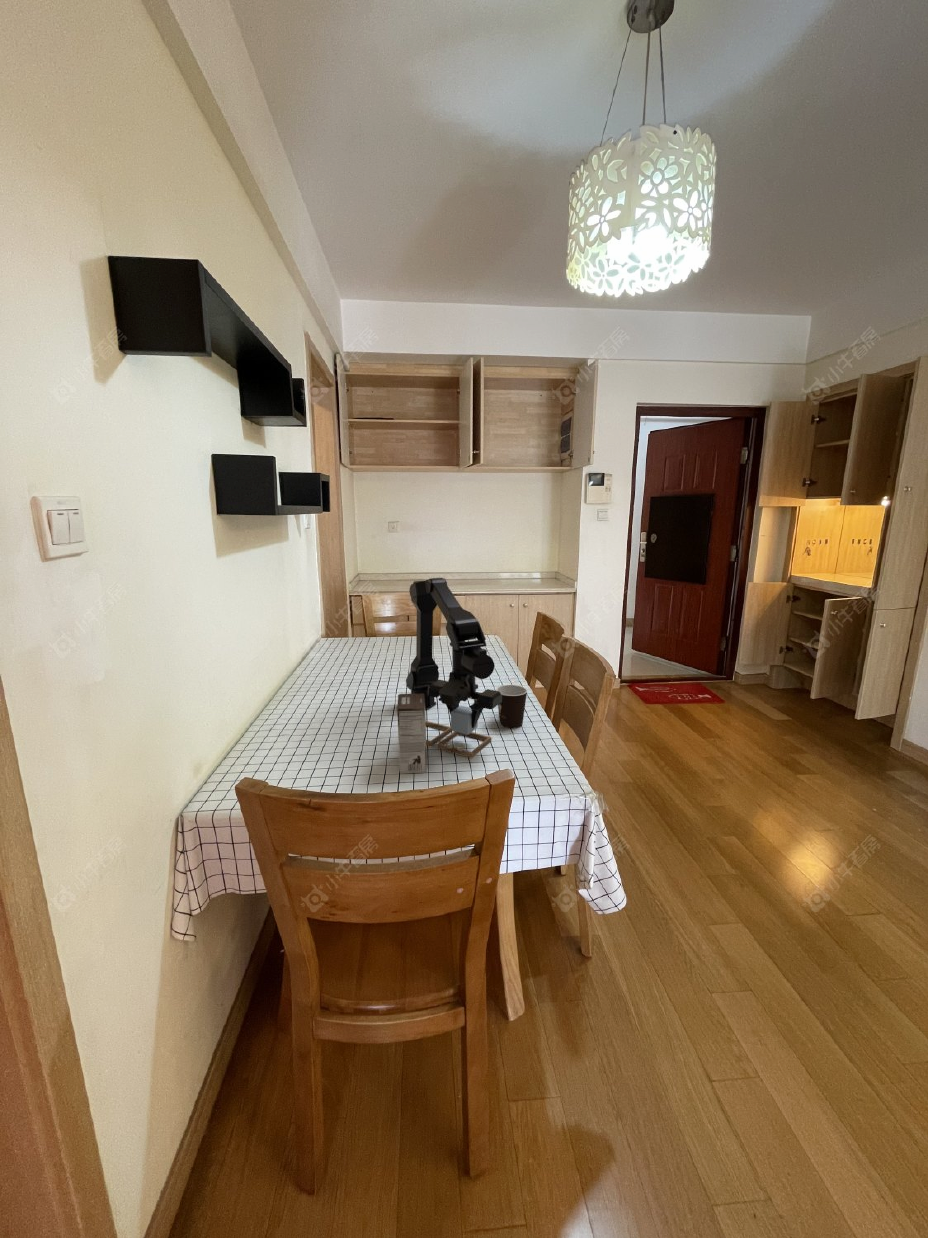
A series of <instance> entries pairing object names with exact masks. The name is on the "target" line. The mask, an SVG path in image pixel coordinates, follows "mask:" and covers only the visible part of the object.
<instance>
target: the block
mask: <svg viewBox="0 0 928 1238" xmlns="http://www.w3.org/2000/svg"><path fill="white" fill-rule="evenodd" d="M471 721H472V710H471V708H470V706H467V705H466V706H464V705H459V707H458V708H456V709H455V710H453V711H452V712H451V715H450V727H451V731H452V732H454V731H455V732H459V733H463V734H467V735H469V734H470V733H471V732H473V731H475V730H476V729H478V726H479V724H478V723H479V720H478V721H477V724H476V726H475V727H474V728H472V724H471Z"/></svg>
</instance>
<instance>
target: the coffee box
mask: <svg viewBox="0 0 928 1238" xmlns="http://www.w3.org/2000/svg"><path fill="white" fill-rule="evenodd" d="M396 707H397V708H396V711H397V734H398V735H397V739H398V741H397V742H398V763H399V766H398V767H399V773H400V774H417V773H419V774H420V773H421V774H422V773H427V745H426V740H427V726H426V721H427V720H426V718H427V717H426V710H425V696H424V694H411V693H398V695H397V706H396Z"/></svg>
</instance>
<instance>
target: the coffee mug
mask: <svg viewBox="0 0 928 1238" xmlns="http://www.w3.org/2000/svg"><path fill="white" fill-rule="evenodd" d="M495 691H499V692H500V693H501V695H502V702H501V703H500V704H499V705H497V709H498V719H499V725H500V726H501V727H502V728H505V729H506V728H507V729H518V728H521V727H522V726H523V722H524V716H525V708H526V701H527V694H528V689H527V687H524V686H522V685H516V684H505V685H504V684H503V685H500V686H498V687H496V689H495Z"/></svg>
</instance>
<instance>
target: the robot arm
mask: <svg viewBox="0 0 928 1238" xmlns="http://www.w3.org/2000/svg"><path fill="white" fill-rule="evenodd" d="M409 597H410V600H411V603H412V605H413V606H414V607H415V609H416V646H415V647H416V650H415V653H416V655H415V657H414V659H413V660H412V662H411V664H410V671H409V673H408V675H407V677H406V679H405V684H406V688H407V689H409V690H410V694H424V696H425V711H427V710H429V709H430V708H432V707H434V706H435V705H437V701H435V698H437V699H438V701H439V702H440V703H442V704H443V705H444V704H445V706H446V708H447V710H448V712H449V715H450V716H451V712H452V711H453V710H455V709H456V708H458V707H459V706H460V705H459V704H461V702H466V701H467V700H468V699H470V700H473V703H472V704H470V705H469V707H470V708H471V710H472V721H471V724H472V728H474V727H475V726H476V724H477V721H478V722H479V718H480V717H481V715H482V712H483V711H484V709H487V710H493V709H495V707H498V705H499V704H500V703H501V702H502V695H501V693H500V692H499V691H496V689H490V688H489V689H488V688H487V689H485V690H484V691H483V692H479V691H476V690H478V689H479V684H476V678H477V679H479V680H486V679H487V678H489V677H491V675H492V674H493V673H494V670H495V662H494V659H493V657H491V656H490V655H488V650H487V649H486V648H485V647H487V642H486V640H487V638H486V636H485V633H484V632H483V629H482V626H481V623H480V621H478V619H477V617H475V615H474V614H473V613H472V612H470V611H468V610H466V609H465V608H463V607H462V606H461V605H460V603H459V601H458V599H457V598H456V597H455V595H454V593H453V592H452V591H451V589H450V587H449V586H448V581H447V579H446V578H443V577H433V578H432V577H430V578H429V579H426V580H414V581H413V582H412V584H410V586H409ZM437 607H438V608H439V611H440V612H441V613H442V616H443V617H444V619H445V621H446V624H445V631H446V634H447V637H448V638H449V640H450V642H449V646H450V647H451V652H452V653H451V657H452V658H451V659H452V660H451V661H452V665H451V666H452V671H450V672H449V674H448V677H449V678H448V680H442V679H439V678H440V672H439V666H438V664H437V663H436V661H435V659H433V639H434V636H433V635H434V611H435V609H436V608H437Z"/></svg>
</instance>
